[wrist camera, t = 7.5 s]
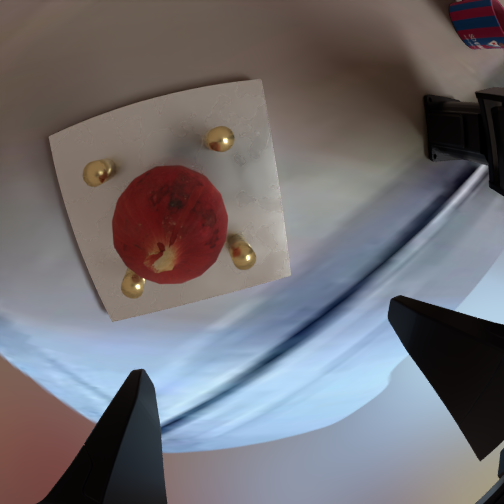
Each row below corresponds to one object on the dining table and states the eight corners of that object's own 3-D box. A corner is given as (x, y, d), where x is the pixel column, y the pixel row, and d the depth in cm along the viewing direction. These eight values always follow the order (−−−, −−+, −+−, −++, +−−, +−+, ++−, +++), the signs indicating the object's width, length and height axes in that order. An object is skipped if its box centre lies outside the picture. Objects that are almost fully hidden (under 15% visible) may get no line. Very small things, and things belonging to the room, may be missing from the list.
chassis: (257, 81, 16) (274, 69, 13) (286, 269, 22) (304, 291, 18) (54, 136, 14) (30, 137, 10) (114, 314, 19) (106, 342, 16)
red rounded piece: (148, 146, 15) (114, 153, 8) (234, 181, 17) (271, 215, 10) (117, 233, 16) (77, 299, 9) (198, 261, 18) (208, 341, 11)
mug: (452, 33, 16) (497, 28, 10) (440, -22, 13) (478, -32, 6) (480, 58, 18) (520, 58, 12) (470, 4, 14) (505, -1, 8)
